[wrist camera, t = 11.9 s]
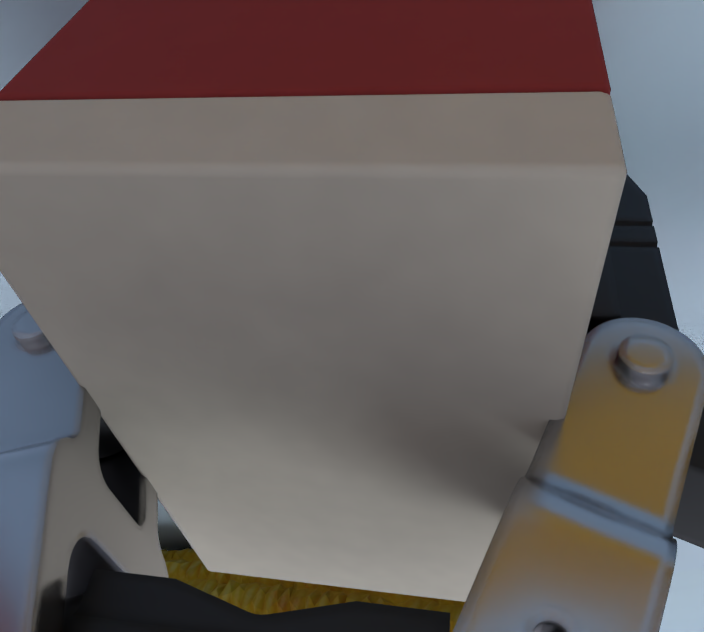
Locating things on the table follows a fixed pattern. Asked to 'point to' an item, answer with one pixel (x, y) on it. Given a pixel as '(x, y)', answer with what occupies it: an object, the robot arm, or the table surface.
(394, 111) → the toy cooler box
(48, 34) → the table surface
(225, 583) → the food
